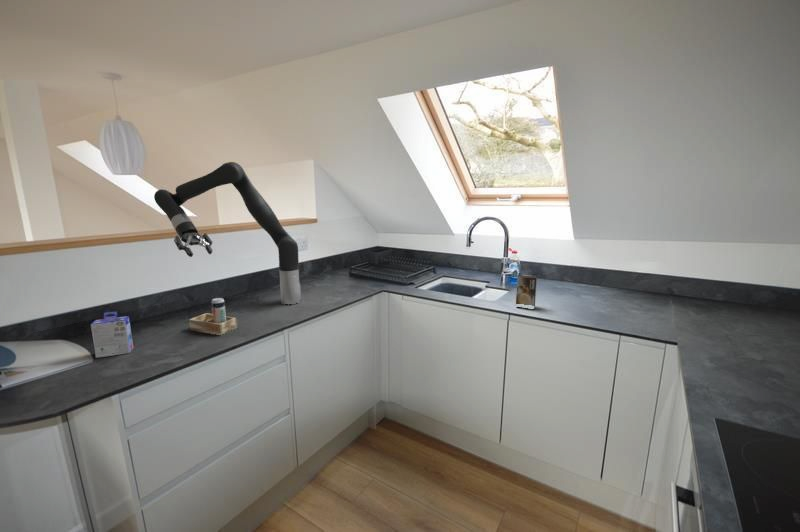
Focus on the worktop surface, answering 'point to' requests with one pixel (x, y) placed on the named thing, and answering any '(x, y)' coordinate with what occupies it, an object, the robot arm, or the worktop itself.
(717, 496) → the worktop surface
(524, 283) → the coffee box
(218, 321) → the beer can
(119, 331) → the ink cartridge box
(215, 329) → the can rack
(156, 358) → the worktop surface
